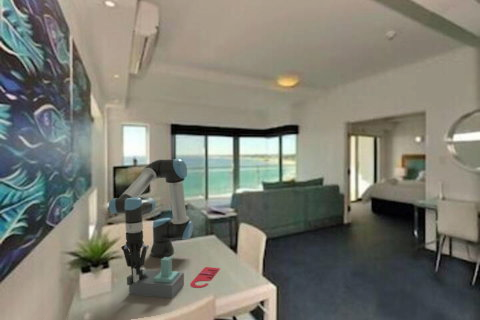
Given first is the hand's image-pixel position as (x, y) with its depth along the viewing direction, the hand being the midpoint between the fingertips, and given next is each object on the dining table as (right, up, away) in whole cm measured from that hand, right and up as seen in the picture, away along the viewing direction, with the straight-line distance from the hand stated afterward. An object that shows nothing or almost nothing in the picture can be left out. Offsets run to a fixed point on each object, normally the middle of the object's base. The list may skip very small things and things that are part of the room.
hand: (136, 281), depth 131 cm
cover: (+13, -1, +6) cm, 14 cm away
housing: (+8, -7, +7) cm, 13 cm away
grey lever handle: (-1, -1, +3) cm, 3 cm away
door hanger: (+30, -7, +20) cm, 37 cm away
